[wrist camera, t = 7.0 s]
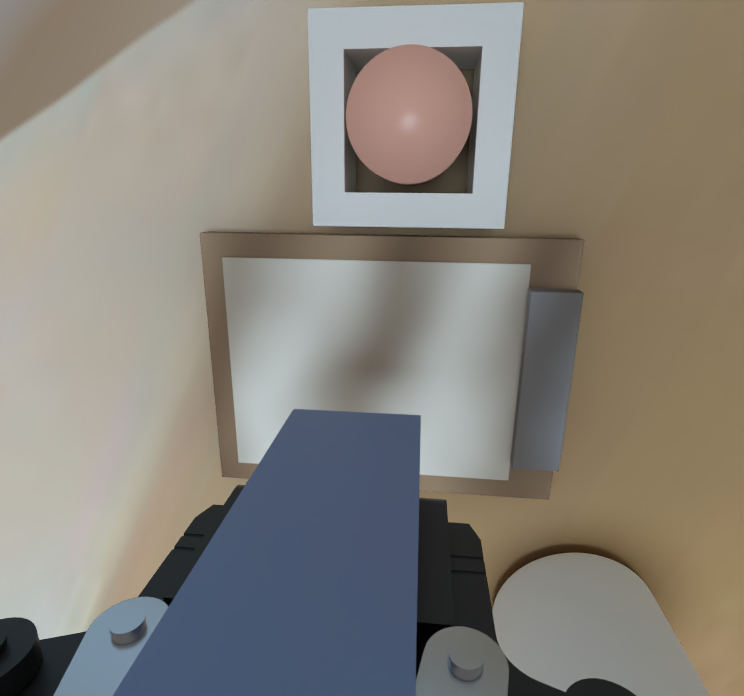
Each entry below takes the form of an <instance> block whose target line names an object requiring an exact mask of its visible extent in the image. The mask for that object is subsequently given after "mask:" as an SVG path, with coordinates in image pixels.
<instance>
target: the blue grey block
mask: <svg viewBox="0 0 744 696" xmlns="http://www.w3.org/2000/svg"><path fill="white" fill-rule="evenodd" d="M420 434H421V415H407V414H387V413H367V412H347V411H327V410H307V409H293V410H292V412H291V414H290V415H289V417H288V418H287V420H286V421H285V423H284V425H283V426H282V428H281V429H280V431H279V433H278V434H277V436H276V437H275V439H274V441H273V442H272V444H271V445H270V447H269V448H268V450H267V452H266V453H265V455H264V456H263V458H262V460H261V461H260V463H259V464H258V466H257V467H256V469H255V471H254V472H253V474H252V475H251V477H250V479H249V480H248V482H247V483H246V485H245V487H244V488H243V490H242V491H241V493H240V494H239V496H238V498H237V499H236V501H235V502H234V504H233V506H232V507H231V509H230V510H229V512H228V513H227V515H226V517H225V518H224V520H223V521H222V523H221V525H220V526H219V528H218V529H217V531H216V532H215V534H214V536H213V537H212V539H211V540H210V542H209V544H208V545H207V547H206V548H205V550H204V552H203V553H202V555H201V556H200V558H199V559H198V561H197V563H196V564H195V566H194V567H193V569H192V571H191V572H190V574H189V575H188V577H187V578H186V580H185V582H184V583H183V585H182V586H181V588H180V590H179V591H178V593H177V594H176V596H175V598H174V599H173V601H172V602H171V604H170V605H169V607H168V609H167V610H166V612H165V613H164V615H163V617H162V618H161V620H160V621H159V623H158V624H157V626H156V628H155V629H154V631H153V632H152V634H151V636H150V637H149V639H148V640H147V642H146V644H145V645H144V647H143V648H142V650H141V651H140V653H139V655H138V656H137V658H136V659H135V661H134V663H133V664H132V666H131V667H130V669H129V670H128V672H127V674H126V675H125V677H124V678H123V680H122V682H121V683H120V685H119V686H118V688H117V690H116V691H115V693H114V694H113V696H415V687H416V636H417V586H418V535H419V484H420Z"/></svg>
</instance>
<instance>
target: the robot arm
mask: <svg viewBox="0 0 744 696" xmlns="http://www.w3.org/2000/svg"><path fill="white" fill-rule="evenodd" d="M244 487H245V485H238V486H236V488H235V489H234V490H233V492H232V493H231V495H230V496H229V498H228V499H227V501H226V503H225V504H224V505H212V506H211V507H209V508H208V509H207V510H205V511H204V512H202V513H201V514H200V515H198V516H197V517H195V519H194V520H193V521H192V523H191V524H190V526H189V527H188V528H187V530H186V531H185V533H184V536H182V537H181V538H180V539H179V541H178V542H177V544H176V545H175V548H174V550H172V551H171V552H170V553H169V555H168V556H167V557H166V559H165V560H164V562H163V563H162V564H161V566H160V567H159V569H158V570H157V571H156V573H155V574H154V575H153V577H152V578H151V580H150V581H149V582H148V584H147V585H146V587H145V588H144V589H143V591H142V592H141V594H140V595H139V596H138V597H137V598H132V599H128V600H125V601H123V602H120V603H118V604H116V605H114V606H112V607H111V608H109V609H107V610H106V611H105V612H103V613H102V614H101V615H100V616H99V617H97V618H96V619H95V620H94V622H93V623H92V624H91V625H90V627H89V628H88V630H87V631H86V632H81V633H76V634H71V635H65V636H60V637H54V638H49V639H43V640H39V638H38V634H37V629H36V627H35V625H34V624H33V623H32V622H31V621H29V620H27V619H24V618H5V619H0V696H113V694H114V693H115V691H116V690H117V688H118V686H119V685H120V683H121V682H122V680H123V678H124V677H125V675H126V674H127V672H128V670H129V669H130V667H131V666H132V664H133V663H134V661H135V659H136V658H137V656H138V655H139V653H140V651H141V650H142V648H143V647H144V645H145V644H146V642H147V640H148V639H149V637H150V636H151V634H152V632H153V631H154V629H155V628H156V626H157V624H158V623H159V621H160V620H161V618H162V617H163V615H164V613H165V612H166V610H167V609H168V607H169V605H170V604H171V602H172V601H173V599H174V598H175V596H176V594H177V593H178V591H179V590H180V588H181V586H182V585H183V583H184V582H185V580H186V578H187V577H188V575H189V574H190V572H191V571H192V569H193V567H194V566H195V564H196V563H197V561H198V559H199V558H200V556H201V555H202V553H203V552H204V550H205V548H206V547H207V545H208V544H209V542H210V540H211V539H212V537H213V536H214V534H215V532H216V531H217V529H218V528H219V526H220V525H221V523H222V521H223V520H224V518H225V517H226V515H227V513H228V512H229V510H230V509H231V507H232V506H233V504H234V502H235V501H236V499H237V498H238V496H239V494H240V493H241V491H242V490H243V488H244ZM415 696H636V695H635V694H634V693H632V692H631V691H629V690H628V689H626V688H624V687H622V686H621V685H618V684H616V683H614V682H611V681H607V680H604V679H598V678H587V679H582V680H579V681H577V682H575V683H573V684H572V685H571V686H570V687H569V688H568V689H567V690H566V692H564V691H562V690H559V689H557V688H554V687H552V686H549V685H547V684H544V683H542V682H539V681H537V680H535V679H533V678H531V677H529V676H528V675H526V674H524V673H523V672H522V671H520V670H519V669H518V668H516V667H515V666H514V665H513V664H512V663H511V662H510V661H509V660H508V658H507V657H506V656H505V654H504V653H503V651H502V650H501V648H500V646H499V643H498V641H497V637H496V632H495V626H494V620H493V614H492V607H491V601H490V595H489V589H488V583H487V577H486V570H485V564H484V561H483V552H482V546H481V540H480V538H479V537H478V536H477V534H476V533H475V532H474V530H473V529H472V528H471V526H470V525H469V524H463V523H450V522H448V517H447V503H446V500H442V499H428V498H419V535H418V586H417V636H416V687H415Z"/></svg>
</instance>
